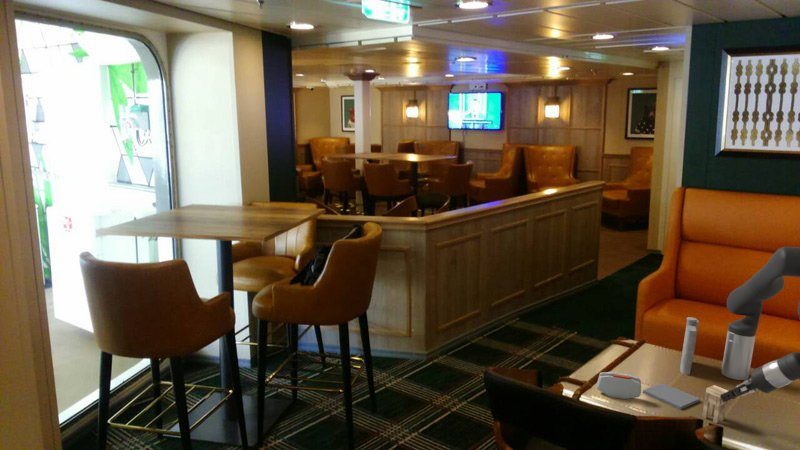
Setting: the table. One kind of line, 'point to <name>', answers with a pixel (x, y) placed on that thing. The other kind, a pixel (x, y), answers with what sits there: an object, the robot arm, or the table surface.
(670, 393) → the mat
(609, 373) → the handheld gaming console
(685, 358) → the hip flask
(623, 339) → the table surface
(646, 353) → the table surface
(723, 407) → the beech stool
